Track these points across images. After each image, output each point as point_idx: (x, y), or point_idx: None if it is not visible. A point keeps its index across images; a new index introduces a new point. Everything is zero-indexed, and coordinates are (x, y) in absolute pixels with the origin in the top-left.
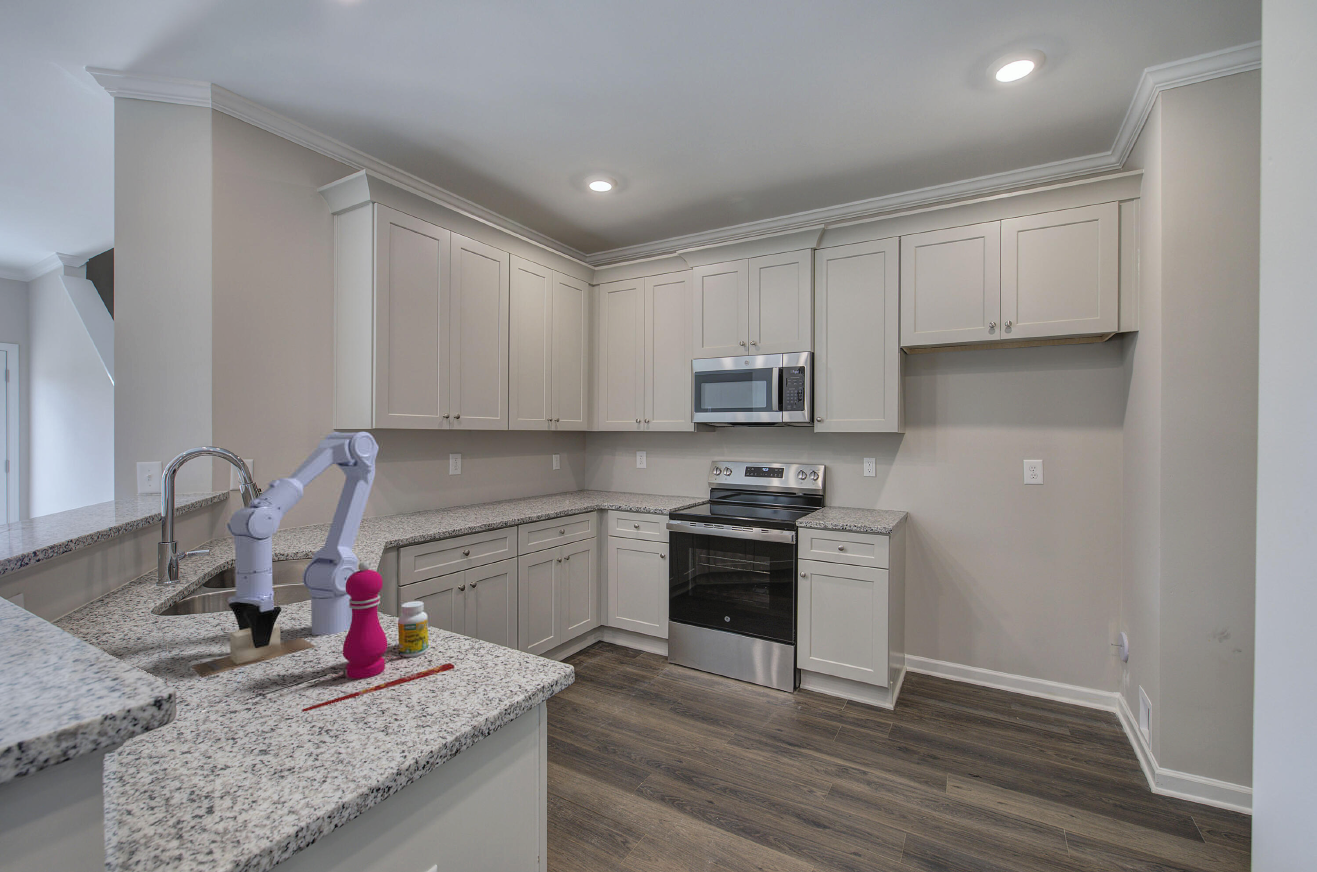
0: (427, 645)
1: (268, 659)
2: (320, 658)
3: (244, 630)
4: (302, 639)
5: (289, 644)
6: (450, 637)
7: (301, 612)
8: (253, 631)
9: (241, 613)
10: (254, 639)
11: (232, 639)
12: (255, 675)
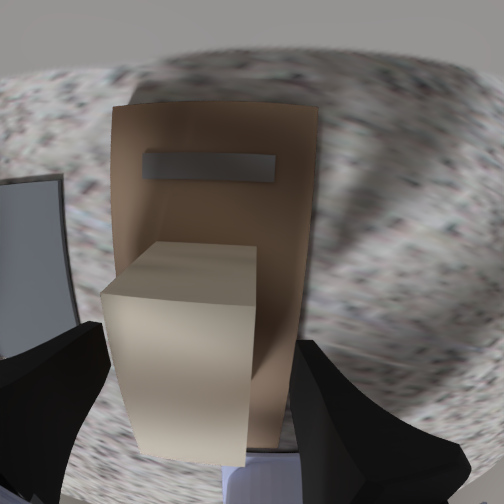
0: None
1: None
2: (96, 404)
3: (216, 369)
4: (253, 445)
5: None
6: (80, 497)
7: (486, 445)
8: (20, 354)
9: (326, 455)
10: (58, 337)
11: (201, 285)
12: (73, 258)
